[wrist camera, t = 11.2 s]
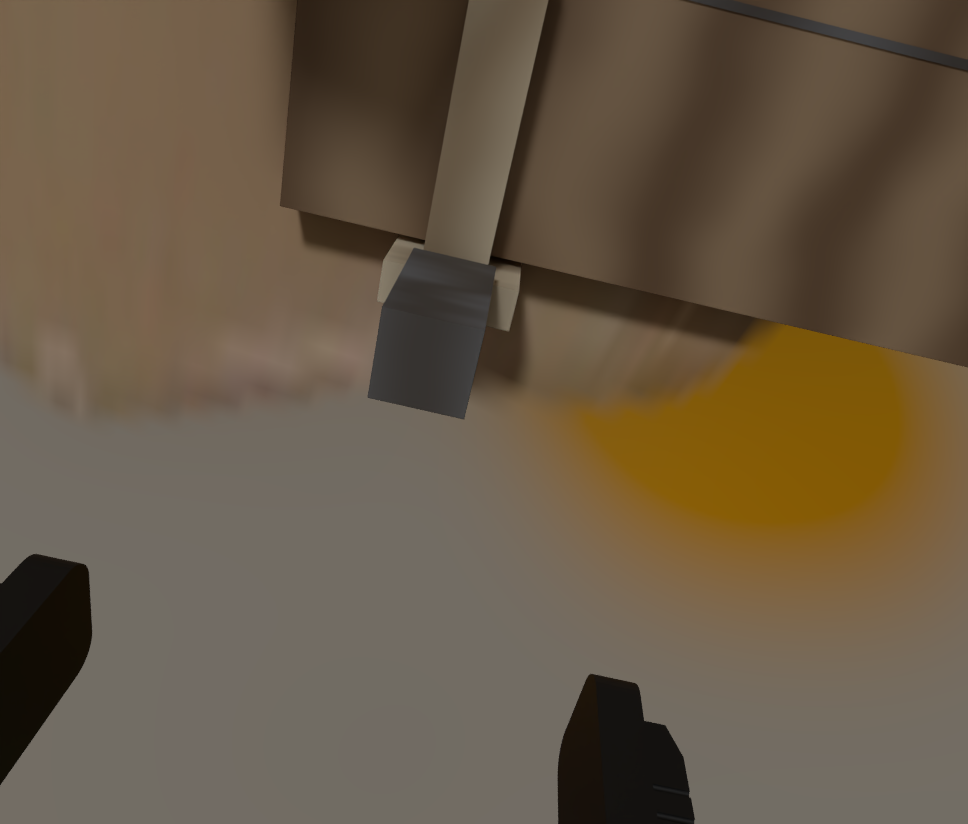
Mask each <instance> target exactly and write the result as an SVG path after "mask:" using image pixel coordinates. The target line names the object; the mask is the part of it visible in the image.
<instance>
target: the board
mask: <svg viewBox="0 0 968 824" xmlns="http://www.w3.org/2000/svg"><path fill="white" fill-rule="evenodd" d="M468 3H469V0H297V11H296V23H295V35H294V47H293V59H292V71H291V82H290V94H289V106H288V118H287V130H286V142H285V154H284V165H283V177H282V189H281V201H280V206H282V207H286V208H291V209H295V210H299V211H303V212H308V213H312V214H316V215H320V216H325V217H329V218H333V219H338V220H342V221H346V222H350V223H355V224H359V225H363V226H367V227H372V228H376V229H380V230H384V231H389V232H393V233H397V234H402V235H406V236H410V237H414V238H419V239H423V240H425V239H426V233H427V228H428V222H429V217H430V211H431V206H432V200H433V195H434V189H435V184H436V178H437V173H438V167H439V162H440V156H441V151H442V145H443V140H444V134H445V129H446V123H447V118H448V112H449V107H450V101H451V96H452V90H453V85H454V79H455V74H456V68H457V63H458V58H459V52H460V47H461V41H462V36H463V30H464V25H465V19H466V14H467V8H468ZM490 255H491V256H495V257H500V258H504V259H508V260H512V261H517V262H521V263H525V264H529V265H534V266H538V267H542V268H547V269H551V270H555V271H559V272H564V273H568V274H572V275H576V276H581V277H585V278H589V279H593V280H598V281H602V282H606V283H611V284H615V285H619V286H623V287H628V288H632V289H636V290H640V291H645V292H649V293H653V294H657V295H662V296H666V297H670V298H674V299H679V300H683V301H687V302H692V303H696V304H700V305H704V306H709V307H713V308H717V309H721V310H726V311H730V312H734V313H738V314H743V315H747V316H751V317H756V318H760V319H764V320H768V321H773V322H777V323H781V324H785V325H790V326H794V327H798V328H802V329H807V330H811V331H816V332H820V333H824V334H828V335H832V336H837V337H841V338H845V339H849V340H854V341H858V342H862V343H866V344H871V345H875V346H879V347H883V348H888V349H892V350H897V351H901V352H905V353H909V354H913V355H918V356H922V357H926V358H931V359H935V360H939V361H943V362H948V363H952V364H956V365H961V366H965V367H968V0H548V4H547V8H546V13H545V17H544V22H543V26H542V30H541V35H540V39H539V43H538V48H537V52H536V57H535V61H534V65H533V70H532V74H531V79H530V83H529V87H528V92H527V96H526V101H525V105H524V109H523V114H522V118H521V123H520V127H519V131H518V136H517V140H516V145H515V149H514V153H513V158H512V162H511V167H510V171H509V175H508V180H507V184H506V189H505V193H504V197H503V202H502V206H501V210H500V215H499V219H498V224H497V228H496V232H495V237H494V241H493V246H492V250H491V254H490Z"/></svg>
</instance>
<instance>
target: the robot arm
mask: <svg viewBox="0 0 968 824" xmlns="http://www.w3.org/2000/svg"><path fill="white" fill-rule="evenodd" d="M91 639H92V622H91V604H90V585H89V571H88V568H87V567H86V565H84V564H81V563H76V562H71V561H67V560H62V559H57V558H53V557H48V556H43V555H39V554H33V555H31V556H29V557H27V558H26V559H25V560H24V561H23V562H22V563H21V564H20V565H19V566H18V567H17V568H16V569H15V570H14V571H13V572H12V573H11V574H10V575H9V576H8V578H6V580H5V581H4V582H3V583H0V785H1V783H2V782H3V780H4V779H5V778H6V776H7V775H8V773H9V772H10V770H11V769H12V768H13V766H14V765H15V763H16V762H17V760H18V759H19V758H20V756H21V755H22V753H23V752H24V750H25V749H26V748H27V746H28V744H29V743H30V742H31V740H32V739H33V738H34V736H35V735H36V733H37V732H38V730H39V729H40V728H41V726H42V725H43V723H44V722H45V721H46V719H47V718H48V716H49V715H50V713H51V712H52V710H53V709H54V708H55V706H56V705H57V703H58V702H59V701H60V699H61V698H62V696H63V694H64V693H65V692H66V691H67V689H68V688H69V686H70V685H71V683H72V682H73V681H74V679H75V677H76V676H77V675H78V673H79V671H80V670H81V668H82V666H83V664H84V662H85V660H86V657H87V655H88V652H89V648H90V644H91ZM689 792H690V791H689V786H688V780H687V774H686V769H685V764H684V758H683V756H682V754H681V752H680V751H679V749H678V747H677V745H676V743H675V742H674V740H673V738H672V737H671V735H670V733H669V731H668V729H667V728H666V726H665V725H661V724H656V723H652V722H646V721H644V717H643V710H642V703H641V696H640V690H639V687H638V685H637V684H635V683H632V682H627V681H623V680H618V679H613V678H608V677H604V676H599V675H594V674H590V675H589V676H588V678H587V679H586V682H585V684H584V686H583V689H582V691H581V694H580V696H579V699H578V701H577V704H576V706H575V708H574V711H573V713H572V716H571V718H570V721H569V723H568V726H567V728H566V731H565V733H564V736H563V740H562V744H561V748H560V754H559V762H558V824H694V820H695V818H694V812H693V807H692V802H691V798H689Z"/></svg>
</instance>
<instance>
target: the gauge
mask: <svg viewBox="0 0 968 824" xmlns="http://www.w3.org/2000/svg"><path fill="white" fill-rule="evenodd" d="M547 4H548V0H469V3H468V8H467V14H466V19H465V25H464V30H463V36H462V41H461V47H460V52H459V58H458V63H457V68H456V74H455V79H454V85H453V90H452V96H451V101H450V107H449V112H448V118H447V123H446V129H445V134H444V140H443V145H442V151H441V156H440V162H439V167H438V173H437V178H436V184H435V189H434V195H433V200H432V206H431V211H430V217H429V222H428V228H427V233H426V239H425V240H423V239H419V238H414V237H410V236H406V235H402V234H399V236H398V238H397V239H396V241H395V242H394V244H393V246H392V247H391V249H390V250H389V252H388V253H387V255H386V257H385V258H384V260H383V266H382V272H381V278H380V285H379V291H378V298H377V301H379V302H383V303H384V304H383V306H382V311H381V317H380V323H379V329H378V336H377V342H376V348H375V354H374V361H373V367H372V373H371V379H370V385H369V392H368V398H371V399H376V400H380V401H385V402H389V403H394V404H398V405H403V406H407V407H411V408H416V409H420V410H425V411H430V412H434V413H438V414H442V415H447V416H451V417H456V418H460V419H464V417H465V413H466V409H467V405H468V400H469V396H470V392H471V388H472V383H473V379H474V375H475V371H476V366H477V362H478V358H479V354H480V350H481V345H482V341H483V337H484V333H485V328H486V326H487V327H492V328H496V329H500V330H505V331H509V329H510V325H511V321H512V317H513V313H514V309H515V306H516V302H517V298H518V294H519V286H520V274H521V262H517V261H512V260H508V259H504V258H500V257H495V256H491V255H490V254H491V250H492V246H493V241H494V237H495V232H496V228H497V224H498V219H499V215H500V210H501V206H502V202H503V197H504V193H505V189H506V184H507V180H508V175H509V171H510V167H511V162H512V158H513V153H514V149H515V145H516V140H517V136H518V131H519V127H520V123H521V118H522V114H523V109H524V105H525V101H526V96H527V92H528V87H529V83H530V79H531V74H532V70H533V65H534V61H535V57H536V52H537V48H538V43H539V39H540V35H541V30H542V26H543V22H544V17H545V13H546V8H547Z"/></svg>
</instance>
